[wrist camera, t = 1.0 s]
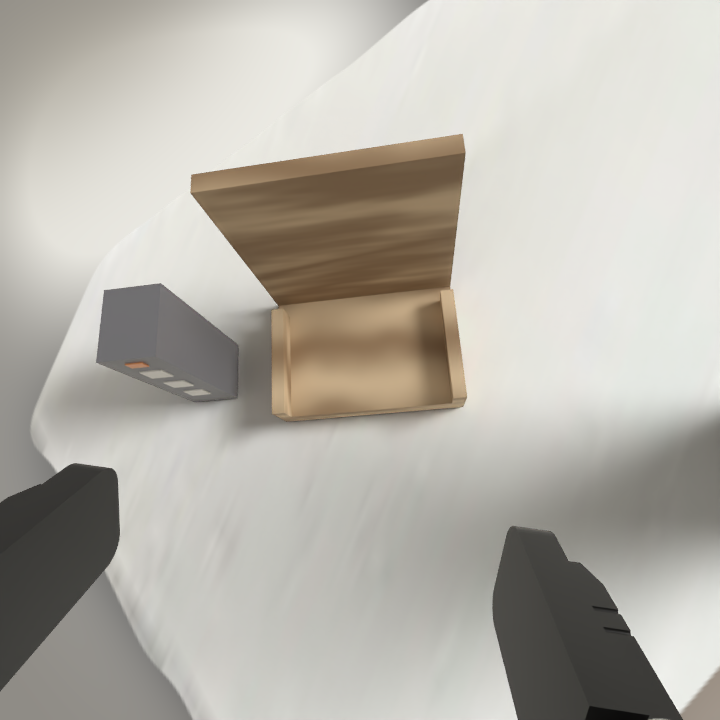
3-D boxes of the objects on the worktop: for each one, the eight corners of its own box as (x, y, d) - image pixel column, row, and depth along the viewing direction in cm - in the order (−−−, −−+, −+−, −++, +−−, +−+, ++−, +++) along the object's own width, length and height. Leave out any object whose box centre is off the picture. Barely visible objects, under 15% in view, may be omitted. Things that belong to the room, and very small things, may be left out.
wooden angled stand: (462, 406, 38) (493, 334, 21) (286, 421, 40) (181, 366, 23) (447, 283, 41) (462, 134, 24) (285, 302, 43) (191, 174, 26)
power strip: (237, 399, 41) (155, 357, 29) (194, 403, 41) (96, 364, 29) (238, 345, 42) (160, 283, 30) (197, 349, 43) (104, 290, 30)
